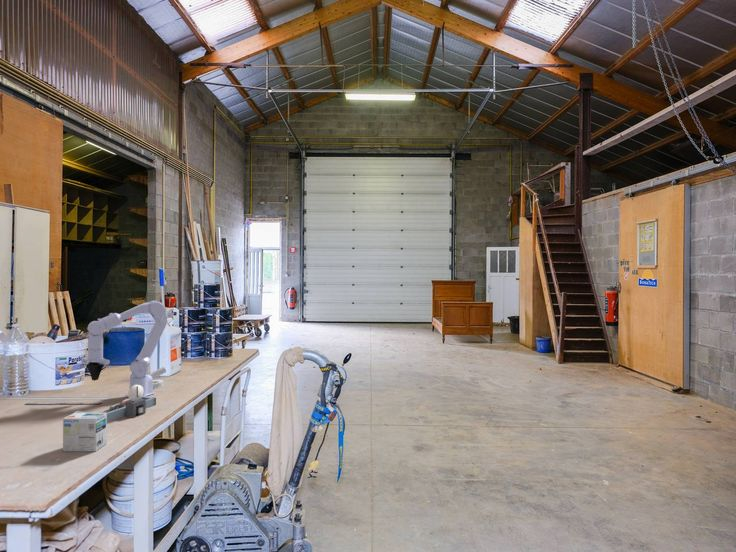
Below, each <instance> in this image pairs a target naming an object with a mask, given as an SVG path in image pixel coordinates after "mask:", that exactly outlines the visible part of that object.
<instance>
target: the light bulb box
mask: <svg viewBox="0 0 736 552" xmlns="http://www.w3.org/2000/svg"><path fill="white" fill-rule="evenodd" d="M74 412H75V411H74ZM74 412H73V413H71V414H69V415H67V416H65V417H63V419H62V452H97V451H99V450H100V449H101V448H103V447H105V446H106V445H107V444H108V443H107V436H108V435H107V431H108V430H107V428H108V427H107V413H101V412H89V413H76V412H75V413H74Z"/></svg>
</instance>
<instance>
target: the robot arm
mask: <svg viewBox="0 0 736 552" xmlns="http://www.w3.org/2000/svg"><path fill="white" fill-rule="evenodd" d="M140 314H150V315H151V317H152V319H153V321H154V324H153V326H152V327H151V330H150V331H149V334H148V336H147V338H146V340H145V342H144V344H143V346H142V348H141V351H140V352H139V354H138V355H137V356H136V358H135V359H134V361H132V362H131V363H130V366H129V371H130V372H131V374H130V376H129V389H130V388H131V387H132V386H133V385H141V386H142V387H143V390H144V392H143V396H147V397H149V396H152V395H154V394H155V392H154V389H153V380H154V379H153V378H152V377H151V376H150V375H148V374H149V365H150V362H151V358H152V355H153V354H154V351H155V348H157V345H158V343H159V342H160V339H161V336H162V335H163V332H164V330H165V329H166V326H167V325H168V316H167V315H168V314H167V308H166V306H165V305H164V304H163V303H162V302H160V301H158V300H155V299H154V300H149V302H148V301H147V302H146V301H145V302H144V303H141V304H139V305H136V306H134V307H132V308H130V309H128V310H126V311H123V312H121V313H117V312H110V313H109V314H108V315H106V316H105V317H102V318H97V320H93V321H90V322H89V324H88V325H87V331H88V338H87V356H86V357H85V356H84V357H81V359H80V362H81V363H87V364H86V365H85V368H87V370H88V372H89V374H90V379H91V381H97V380H99V378H100V375H101V371H102V370H103V368H104V366H108V365H110V362H111V360H110V359H106V358H104V336H103V333H104V332H105V331H109V330H111V329H114V328H116V327H118V326H121V325H122V322H123V321H125V320H127V319H129V318H133V317H135V316H138V315H140ZM124 397H125V398H129V397H128V394H127V395H125V396H124Z"/></svg>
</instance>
